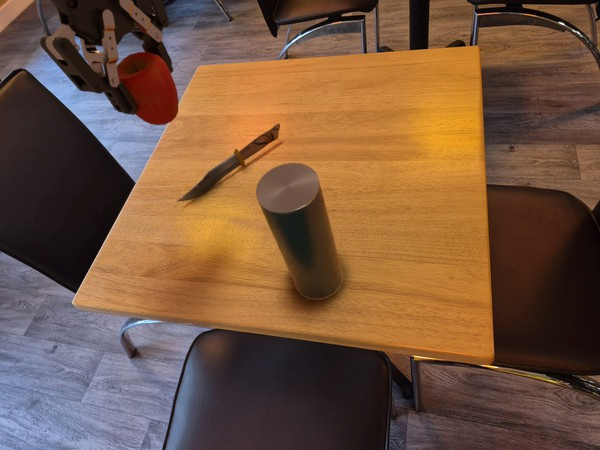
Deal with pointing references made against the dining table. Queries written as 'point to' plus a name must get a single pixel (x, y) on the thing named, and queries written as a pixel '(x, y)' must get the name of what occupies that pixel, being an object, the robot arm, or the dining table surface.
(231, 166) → the knife
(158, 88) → the apple
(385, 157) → the dining table surface
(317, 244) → the tin can
